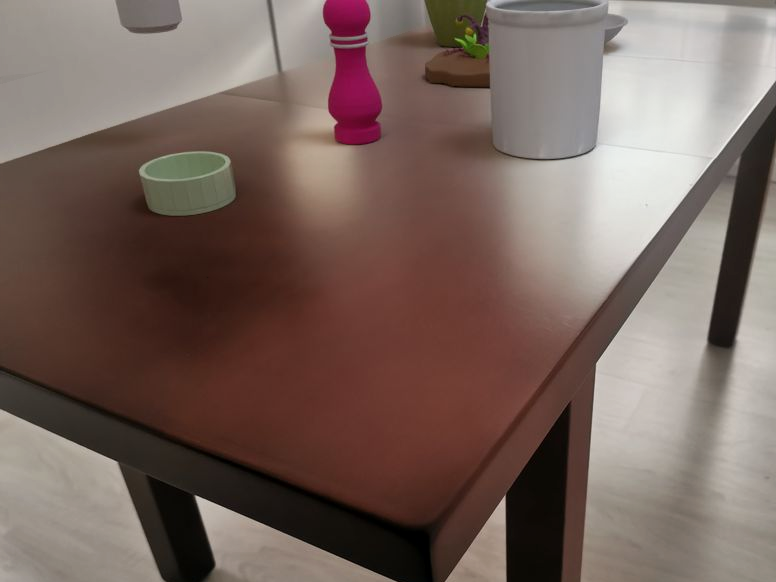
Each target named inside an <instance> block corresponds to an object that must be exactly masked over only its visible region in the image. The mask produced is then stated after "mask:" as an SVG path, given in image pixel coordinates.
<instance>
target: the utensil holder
mask: <svg viewBox="0 0 776 582" xmlns="http://www.w3.org/2000/svg"><path fill="white" fill-rule="evenodd" d="M485 12H486V15H487V18H488V19H489V20H488V22H489V25H488V28H489V62H490V87H489V92H490V93H489V94H490V115H491V117H490V119H491V133H492V144H493V147H494V148H495V149H496V150H497V151H499V152H501V153H504V154H506V155H510V156H513V157H518V158H524V159H535V160H552V159H554V160H555V159H564V158H571V157H576V156H579V155H583V154H585V153H588V152H590V151H591V150H592V149H594V148H595V146H596V145H597V142H598V132H599V122H600V114H601V113H600V111H601V99H602V83H603V81H602V80H603V67H604V66H603V65H604V54H605V53H604V51H605V43H604V37H605V17H606V15H607V14H609V13H608V12H609V0H488V1H487V3H486V9H485Z"/></svg>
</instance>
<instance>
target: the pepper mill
mask: <svg viewBox="0 0 776 582" xmlns="http://www.w3.org/2000/svg"><path fill="white" fill-rule="evenodd" d="M371 14H372V13H371V9H370V5H369V3H368V2H367V0H325V2H324V4H323V7H322V18H323V22H324V24H325V25H326V27H327V28H328V29H329V30H330V32H331V33H329V34H328V38H329V39H330V42H329V46H330V47H332V48H333V53H334V59H335V70H334V76H333V79H332V83H331V86H330V88H329V92H328V96H327V97H328V98H327V111H328V113H329V115H330V116H331V117H332V118H333V119H334V120H335V122H336V123H335V124H334V126H333V132H334V139H335V140H336V142H337V143H341V144H344V145H356V146H357V145H366V144H371V143H374V142H376V141H378V140H380V138H381V136H382V133H381V124H380V122H379V121H378V120H377V118H379V116H380V114H381V113H382V110H383V100H382V96H381V93H380V91H379V89H378V86H377V84H376V83H375V81H374V79H373V76H372V75H371V73H370V70H369V67H368V61H367V46H368V45H369V44H370V40H369V38H368V37H369V33H368V32H367V31H366V29H367V28H368V26H369V24H370V22H371V18H372V17H371Z"/></svg>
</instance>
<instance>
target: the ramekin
mask: <svg viewBox="0 0 776 582" xmlns="http://www.w3.org/2000/svg"><path fill="white" fill-rule="evenodd" d="M138 175H139V178H140V182H141V187H142V190H143V191H142V192H143V194H144V198H145V203H146V206H147V208H148V210H150V211H151V212H153V213H155V214H157V215H158V214H159V215H162V216H168V217H169V216H170V217H171V216H172V217H184V216H185V217H186V216H196V215H200V214H205V213H209V212H213V211H216V210H219V209H222V208H224V207H226V206H228V205H230V204H231V203H232V202H233V201H235V199H236V198H237V187H236V181H235V176H234V170H233V165H232V161H231V159H230V157H229V156H227V155H225V154H223V153H219V152H213V151H201V150H200V151H199V150H198V151H197V150H196V151H184V152H179V153H178V152H176V153H171V154H167V155H162V156H160V157H157V158H154V159H151V160H149V161H147V162H146V163H144V164H142V165H141V166H140V168H139V169H138Z"/></svg>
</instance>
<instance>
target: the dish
mask: <svg viewBox="0 0 776 582" xmlns="http://www.w3.org/2000/svg"><path fill="white" fill-rule="evenodd" d="M628 23H629V19H628V18H627V17H625V16H622V15H619V14H614V13H607V15H606V17H605V37H604V44H606V43H608V42H610V41H611V40H613V39H614V38H615V37H616V36H618V34H619V33H620V32H621V30H623V28H624V27H625V26H627V25H628Z"/></svg>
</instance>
